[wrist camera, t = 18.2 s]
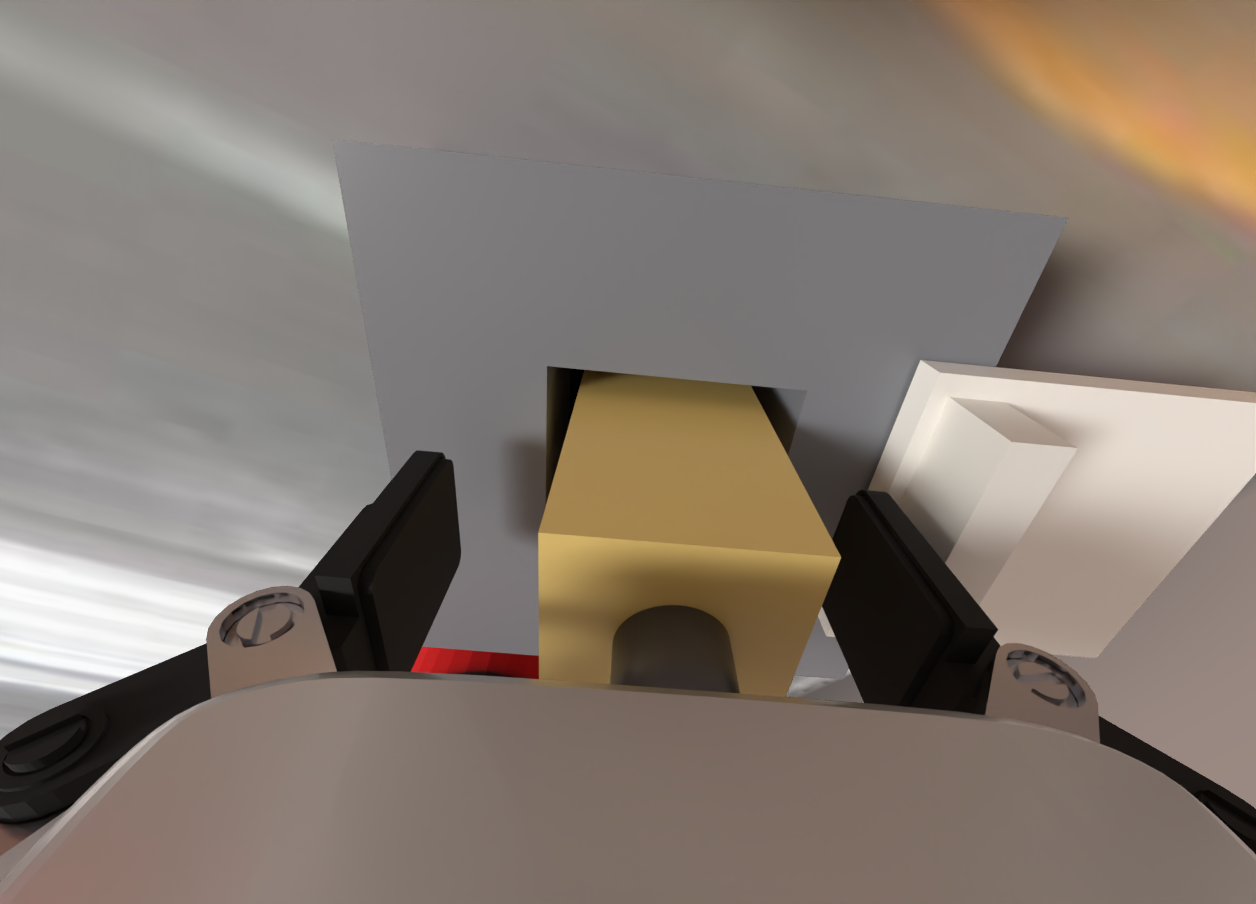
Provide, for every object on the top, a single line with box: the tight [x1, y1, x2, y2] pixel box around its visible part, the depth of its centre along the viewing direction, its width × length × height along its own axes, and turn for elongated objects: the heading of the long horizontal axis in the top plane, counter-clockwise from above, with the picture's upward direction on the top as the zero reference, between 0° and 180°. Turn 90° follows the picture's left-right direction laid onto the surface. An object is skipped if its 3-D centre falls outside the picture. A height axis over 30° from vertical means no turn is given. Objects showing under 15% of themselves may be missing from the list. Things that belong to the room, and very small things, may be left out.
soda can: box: [411, 647, 539, 679], centre depth 19 cm, size 8×8×12 cm
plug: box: [538, 370, 841, 697], centre depth 12 cm, size 4×4×12 cm
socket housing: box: [332, 139, 1068, 679], centre depth 15 cm, size 14×14×5 cm
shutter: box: [818, 360, 1256, 658], centre depth 12 cm, size 8×8×3 cm
